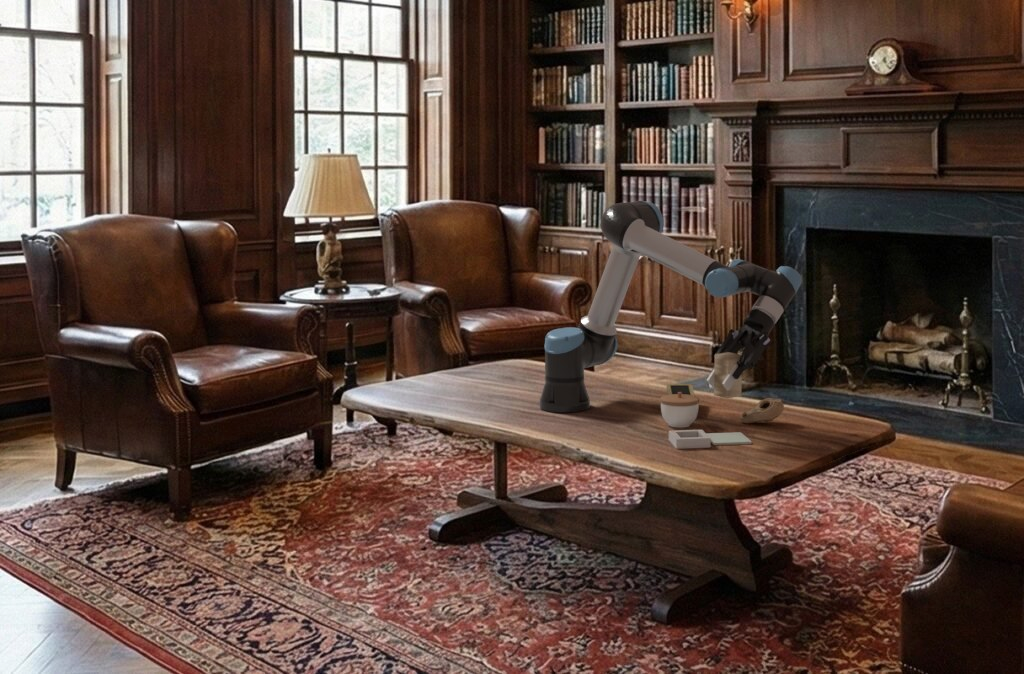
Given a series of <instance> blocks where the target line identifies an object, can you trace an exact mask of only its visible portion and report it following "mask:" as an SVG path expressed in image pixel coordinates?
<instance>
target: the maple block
mask: <svg viewBox="0 0 1024 674" xmlns="http://www.w3.org/2000/svg"><path fill="white" fill-rule="evenodd" d="M714 355H715V358H714V366H715V367H714V366H713V367H714V387H713V389H714V390H713V395H714V396H715V397H720V398H725V399H732V398H737V397H741V396H742V387H743V385H742V377H743V375H742V374H743V373H742V374H741V376H740V377H739V378H738V379H736V381H735V382H734V384H733V385H732V387H731V388H730V390H727V389H726V388H725V387H724V386H723V384H722V383H723V381H724V380H725V378H726V377H727V375H728V374H729V372H730V371H731V369H732V368H733V366H734V365H735V364H737V362H738V361H739V360H740V358H741V355H742V354H739V353H736V354H735V353H730V352H726V353H720V354H716V353H715V354H714ZM737 365H738V364H737Z"/></svg>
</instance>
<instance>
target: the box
mask: <svg viewBox="0 0 1024 674" xmlns="http://www.w3.org/2000/svg"><path fill="white" fill-rule="evenodd" d="M666 392H667V393H666V395H670V394H678V392H682V394H687V395H693V396H695V395H696V394H695V391H694V387H693V383H692V384H691V383H666Z"/></svg>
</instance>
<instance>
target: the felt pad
mask: <svg viewBox="0 0 1024 674" xmlns="http://www.w3.org/2000/svg"><path fill="white" fill-rule="evenodd" d="M705 433H706V434H707V435H708V436H709V437H710V438H711V444H712V445H714V446H731V445H732V446H733V445H752V440H751V439H749V438H748V437H747V436H746V435H745V434H744V433H742V431H741V432H740V431H736V432H735V431H734V432H712V433H711V432H710V433H708V432H705Z"/></svg>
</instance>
